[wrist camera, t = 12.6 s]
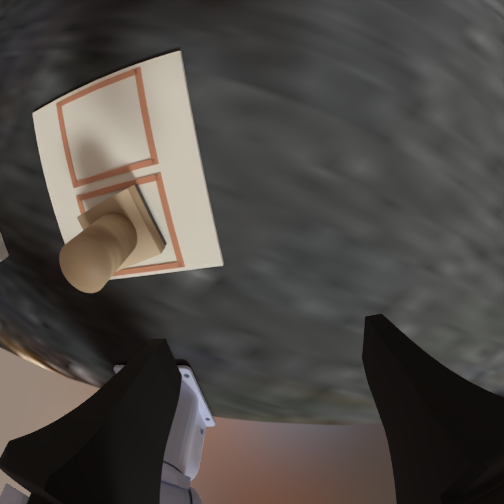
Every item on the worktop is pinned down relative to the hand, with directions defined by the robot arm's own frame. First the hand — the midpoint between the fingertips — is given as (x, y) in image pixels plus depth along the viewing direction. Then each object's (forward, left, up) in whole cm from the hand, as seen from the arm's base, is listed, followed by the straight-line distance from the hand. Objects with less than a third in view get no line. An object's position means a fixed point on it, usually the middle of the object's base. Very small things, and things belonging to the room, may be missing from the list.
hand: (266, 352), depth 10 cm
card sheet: (+6, +9, -10) cm, 15 cm away
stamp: (+3, +9, -10) cm, 13 cm away
